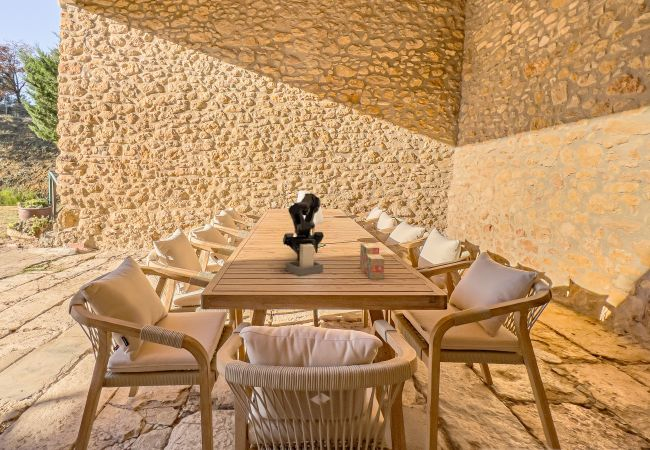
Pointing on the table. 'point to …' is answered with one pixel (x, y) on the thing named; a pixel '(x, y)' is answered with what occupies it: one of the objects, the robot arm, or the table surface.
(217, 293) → the table surface
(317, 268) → the grey square tray
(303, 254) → the cream block
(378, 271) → the stack of blocks
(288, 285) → the table surface
